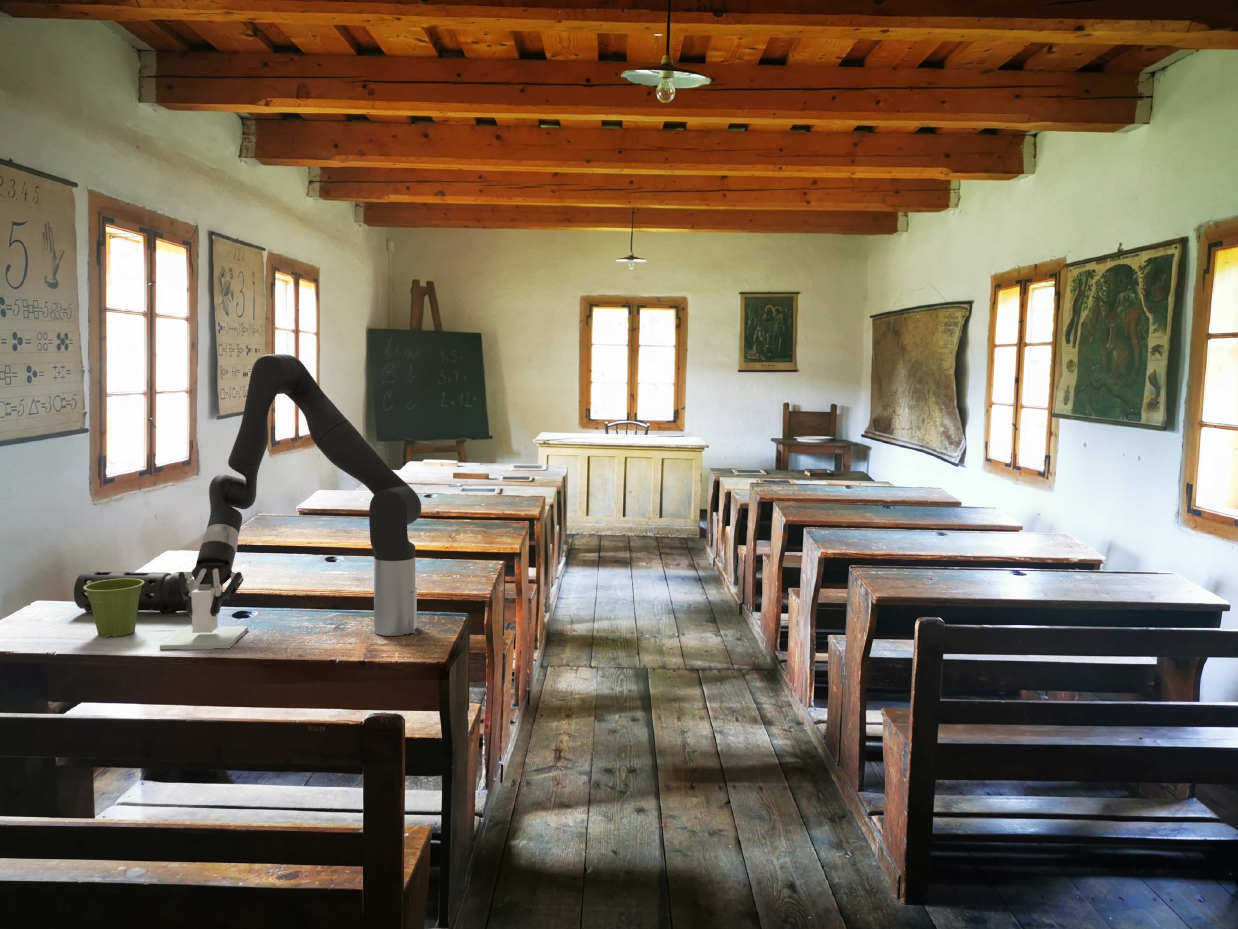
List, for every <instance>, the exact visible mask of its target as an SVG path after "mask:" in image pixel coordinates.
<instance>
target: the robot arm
mask: <svg viewBox="0 0 1238 929" xmlns="http://www.w3.org/2000/svg"><path fill="white" fill-rule="evenodd" d="M250 372H251V373H250V376H249V381H248V382H249V383H248V387H247V388H248V389H247V394H246V397H245V398H246V399H245V403H244V408H243V414H242V419H241V423H240V426H239V429H238V433H237V436H236V438H235V440H234V444H233V446H232V448H231V452H230V455H229V457H228V460H227V465H228V467H229V468H230V469H232V470H233V471H235V472H237V473H239V474H241V475H242V476H243V477H244V478H245V479H243V478H239V477H235V476H232V475H228V474H222V473H221V474H217V475H216V476H214V477H213V478H212V480H211V481H210V484H209V487H208V498H209V499H208V500H209V505H210V506H209V508H210V512H209V513H210V514H209V518H208V523H207V526H206V529H205V533H204V535H203V537H202V541H201V544H200V547H199V551H198V555H197V559H196V563H195V567H194V568H193V569H192V571H189V572H190V573H186V574H184V572H185V571H179V572H180V573H179V574H178V576H179V583H180V590H181V594H182V596H183V598H184V599H185V600H188V603H187V606H186V611H185V612H186V613H187V615H188V616H189V617H192V591H194V590H195V589H198V585H210V588H215V589H216V590H215V597H214V598H213V602H212V606H211V609H210V613H211V615H212V616H216V614H217V615H218V614H219V613H220V611H221V606H222V605H223V604H222V603H223V602H224V601H225V600H227V601H228V600H229V601H230V600H232V599H233V597H234V596H235V594H236V593H237V591H238V589H239V588H240V587H241V585H242V583H243V582H244V576H243V573H241V571H238V572H234V571H233V570H232V569H233V565H234V561H235V557H236V553H237V551H238V545H239V535H240V531H241V526H242V524H243V514H242V513H241V511H239V510H248V509H250V508H251V507H252V506H253V505H254V504H255V502H256V499H257V485H258V484H257V483H258V474H259V470H260V466H261V464H262V461H263V458H264V455H265V453H266V450H267V447H268V444H269V424H268V418H269V412H270V409H271V406H272V404H273V403H274V400H275V398H276V397H277V395H281V394H282V395H286V396H287V397H288V398H289V399H290V400H291V401H292V402H293V403H294V404H295V405H296V406H297V407H298V409H299V410H300V411H301V412H302V414H303V416H304V417H305V420H306V424H307V429H308V432H309V435H310V438H311V439H312V441H313V443H314V444H315V446H317V448H318V449H319V450H320V452H321V453H322V454H323V455H324V456H325V458H327V459H328V461H330V462H331V463H332V464H333V465H334V466H335V467H336V468H338V469H339V470H341V471H343V473H346V474H347V475H349V476H350V477H352V478H354V479H355V480H357V481H359V482H360V483H362V484H363V485H364V486H365V487H366V488H367V489H368V490H369V491H370V492H371V493H372V494H373V496H372V498H371V500H370V503H369V507H368V508H369V509H368V522H369V540H370V545H371V547H372V548H371V549H372V550H373V606H374V607H373V614H374V616H373V626H374V628H373V629H374V633H375V634H376V635H380V636H388V637H393V636H394V637H396V636H398V637H399V636H404V634H406V635H410V634H409V633H414V634H415V632H416V630H415V629H417V627H416V626H417V625H418V624H417V623H418V622H417V621H418V620H417V619H418V617H417V615H418V614H417V612H418V611H417V608H418V607H417V603H418V601H417V594H418V593H417V587H416V546H415V544H414V543H412V542H410V540H409V535H408V525H411V524H413V523H414V522H416V521H417V520H418V519H419V518H420V515H421V513H422V502H421V500H420V497H419V495H418V494H417V492H416V491H415V490H414V489H413V488H412V487H411V486H410V485H409V484H407V482H406V481H404V479H402V478H401V477H400V476H399V475H398V474H397V473H396V472H395V471H393V469H391V468H390V467H389V465H387V463H386V462H384V460H383V459H382V457H381V456H380V455H379V454H378V453H377V452H376V451H375V449H374V448H373V447H372V446H371V445H370V443H368V442H367V440H366V439H365V438H364V436H362V434H361V433H360V431H358V430H357V428H356V427H355V426H354V425H353V424H352V422H350V420H349V419H347V417H346V416H345V415H344V414H343V413H342V412H341V411H340V410H339V409H338V408H337V406H336V405H335V404H334V402H332V400H331V399H330V398H329V397H328V396H327V395H326V394H325V392H324V391H323V390H322V389H321V387H320V386H319V384H318V383H317V382H316V380H315V379H314V377H313V376H312V374H311V372H309V370H308V369H307V367H306V366H305V365H304V364H303V362H302V361H301V360H300V359H299V358H297V357H296V356H294V355H291V354H286V353H280V354H279V353H272V354H271V353H269V354H264V355H260V357H258V358H257V359H256V360H255V362H254V364H253V365H252V369H251V371H250ZM238 509H239V510H238ZM193 577H194V579H195V582H194V584H193V588H192V590H191V591H190V592H189V589H188V583H190V581H191V578H193ZM229 580H230V582H229V583H228V584H227V587H225V590H224V585H225V583H227V582H228V581H229Z"/></svg>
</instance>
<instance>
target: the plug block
mask: <svg viewBox="0 0 1238 929" xmlns="http://www.w3.org/2000/svg"><path fill="white" fill-rule="evenodd" d="M215 590H216V589H215V588H210V585H198V589H195V590H194V591H192V616H191V621H192V623H191V627H192V633H212V632H213V631H214V630H215V629H217V628H218V627H219V626H218V625H219V624H218V620H219V619H218V614H216V616H212V615H211V613H210V609H211V606H212V602H213V598H214V597H215Z"/></svg>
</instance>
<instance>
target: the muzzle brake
mask: <svg viewBox="0 0 1238 929" xmlns="http://www.w3.org/2000/svg"><path fill="white" fill-rule="evenodd" d="M180 572H181V571H176V572H173V573H170V572H153V571H152V572H133V571H132V572H131V571H129V572H128V571H83V572H81V573H80V574H79V575H78V576H77V578H76V581H75V583H74V588H73V599H74V600H73V601H74V603H75V605H76V606H77V608H79V609H83V610H84V611H85V613H93V611H92V607H91V603H90V600H89V599H88V595H87V592H86V590H84V589H83V587H84V586H85V585H87V584H90V583H94V582H98V581H103V580H110V579H124V578H132V579H140V580H143V581H144V584H143V585H142V587H141V594H140V595H139V602H138V610H137V613H138V612H140V611H142V612H159V614H160V615H175V614H177V613H178V612H187V611H186V606H187V603H188V600H185V599H184V598H183V596H182V594H181V590H180V583H179V576H178V574H179V573H180ZM183 572H184V574H186V573H190V572H191V571H183ZM89 581H90V582H89ZM87 582H88V583H87ZM194 582H195V579H194V577H193V578H191V581H190V583H188V589H189V592H190V591H191V590H192V588H193V584H194ZM89 611H91V612H89Z"/></svg>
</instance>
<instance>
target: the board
mask: <svg viewBox="0 0 1238 929" xmlns="http://www.w3.org/2000/svg"><path fill="white" fill-rule="evenodd" d="M246 631H247V632H248V631H249V626H246V625H245V626H242V625H241V626H239V625H238V626H235V625H234V626H233V625H232V626H230V625H229V626H218V628H217V629H215V630H214V631H213V632H212V633H192V626H182V627H181V628H180V629H179V630H177V631H176V632H175V633H174V634H172V635H171V636H170V637H169V638H166V640H165V641H163V642H162V643H160V645H159V650H160V649H182V650H214V649H213V648H229V647H230V646H231V645H233V644H234V643H235V642H236V641H237V640H238V639H239V638H240V637H241V636H242V635H243V634H244V635H245V634H247V632H246ZM244 635H243V636H244ZM243 636H242V637H243ZM242 637H241V638H242ZM241 638H240V639H241ZM240 639H239V640H240ZM239 640H238V641H239ZM238 641H237V642H238ZM237 642H236V643H237ZM236 643H235V644H236ZM235 644H234V645H235ZM234 645H233V646H234Z"/></svg>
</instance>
